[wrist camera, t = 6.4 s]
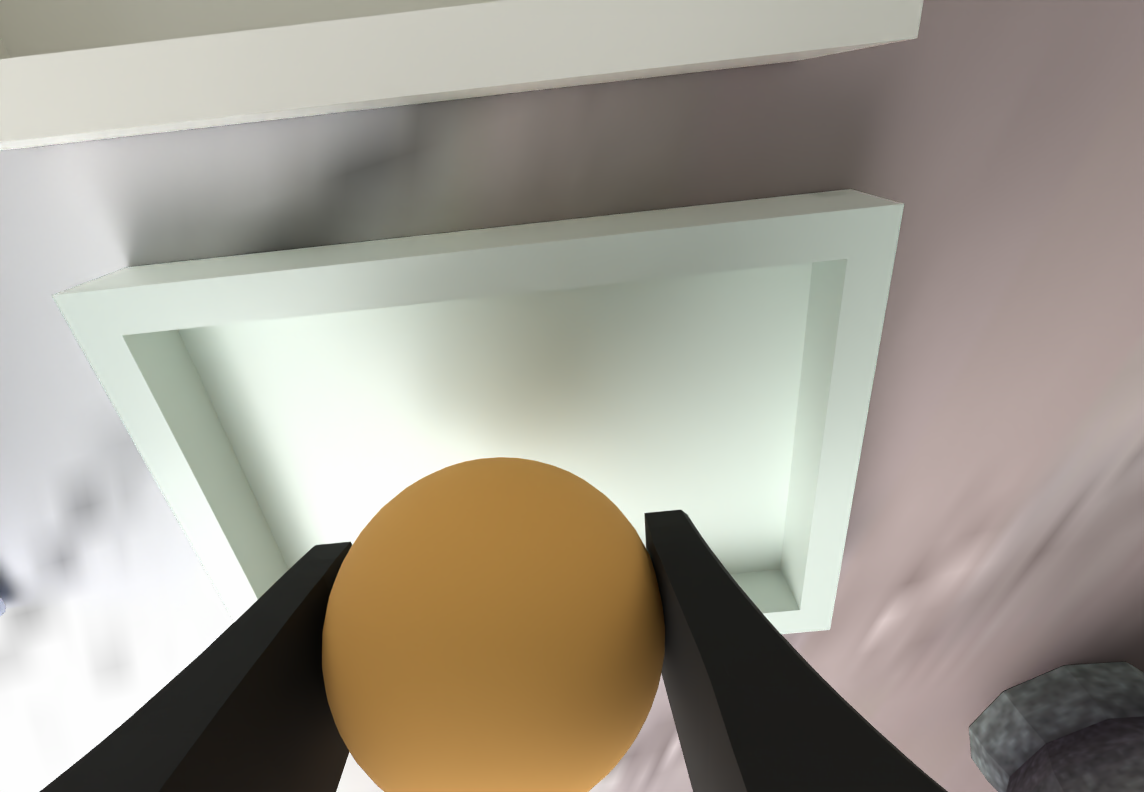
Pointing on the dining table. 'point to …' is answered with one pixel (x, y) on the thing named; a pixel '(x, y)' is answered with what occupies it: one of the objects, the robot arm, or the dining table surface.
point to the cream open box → (376, 54)
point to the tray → (515, 379)
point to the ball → (493, 633)
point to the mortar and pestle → (1065, 732)
